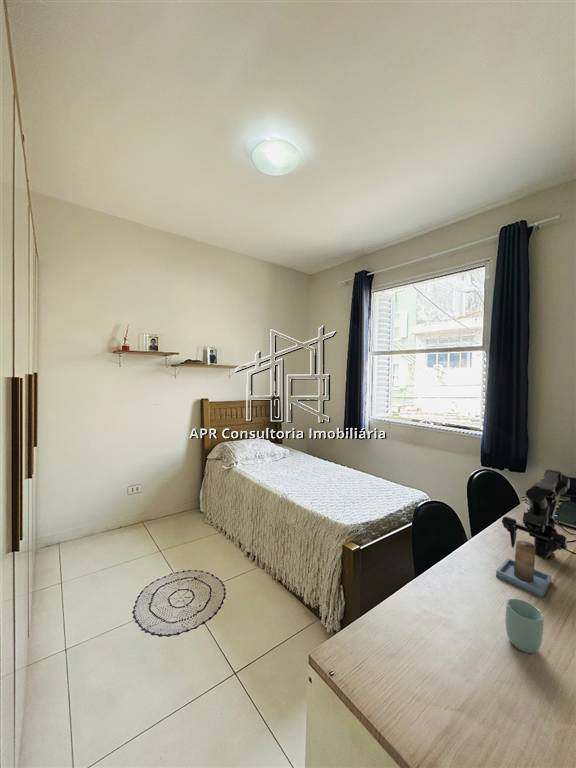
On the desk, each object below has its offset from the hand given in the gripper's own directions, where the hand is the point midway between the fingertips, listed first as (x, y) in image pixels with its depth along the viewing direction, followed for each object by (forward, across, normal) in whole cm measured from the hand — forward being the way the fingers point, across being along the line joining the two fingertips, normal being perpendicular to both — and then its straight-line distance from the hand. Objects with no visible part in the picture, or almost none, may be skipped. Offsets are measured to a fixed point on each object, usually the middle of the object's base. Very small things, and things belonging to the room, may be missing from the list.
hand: (527, 553), depth 111 cm
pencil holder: (+8, 0, +3) cm, 8 cm away
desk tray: (+8, 0, +3) cm, 9 cm away
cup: (+32, +8, -20) cm, 39 cm away
